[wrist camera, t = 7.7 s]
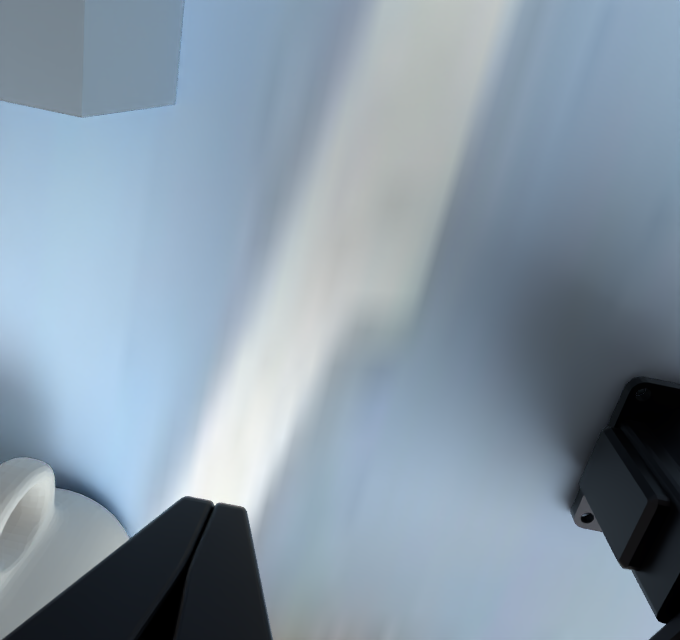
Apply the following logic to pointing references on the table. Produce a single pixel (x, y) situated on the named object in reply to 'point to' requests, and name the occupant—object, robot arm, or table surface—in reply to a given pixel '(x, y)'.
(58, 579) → the cup
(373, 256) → the table surface
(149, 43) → the block
